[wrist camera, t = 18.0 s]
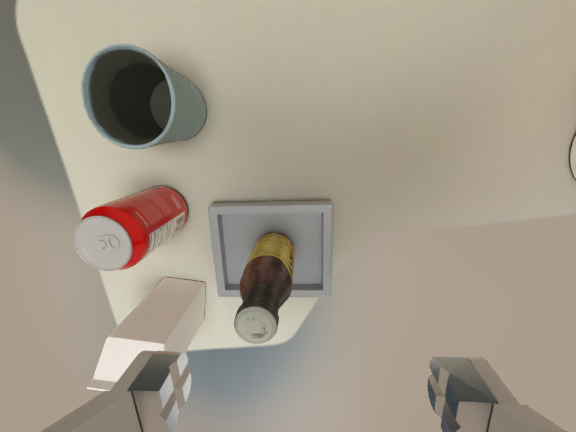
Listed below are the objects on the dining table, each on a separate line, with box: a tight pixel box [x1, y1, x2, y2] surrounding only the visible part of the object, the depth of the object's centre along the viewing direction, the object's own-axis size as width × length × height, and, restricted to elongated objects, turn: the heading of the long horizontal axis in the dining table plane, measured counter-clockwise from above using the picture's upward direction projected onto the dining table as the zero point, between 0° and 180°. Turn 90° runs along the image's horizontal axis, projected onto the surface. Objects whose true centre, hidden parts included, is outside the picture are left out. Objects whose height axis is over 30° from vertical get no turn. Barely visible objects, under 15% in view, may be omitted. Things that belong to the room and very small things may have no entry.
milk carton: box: [86, 277, 205, 391], centre depth 41 cm, size 7×7×19 cm
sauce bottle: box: [234, 232, 295, 344], centre depth 36 cm, size 7×6×20 cm
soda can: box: [74, 186, 187, 271], centre depth 38 cm, size 8×8×15 cm
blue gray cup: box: [82, 44, 207, 149], centre depth 35 cm, size 10×10×12 cm
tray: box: [208, 200, 332, 297], centre depth 45 cm, size 18×15×3 cm
